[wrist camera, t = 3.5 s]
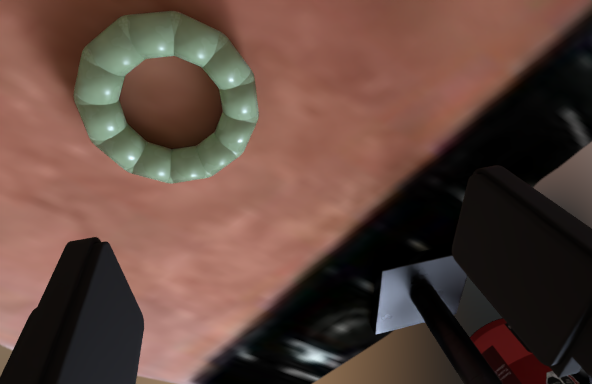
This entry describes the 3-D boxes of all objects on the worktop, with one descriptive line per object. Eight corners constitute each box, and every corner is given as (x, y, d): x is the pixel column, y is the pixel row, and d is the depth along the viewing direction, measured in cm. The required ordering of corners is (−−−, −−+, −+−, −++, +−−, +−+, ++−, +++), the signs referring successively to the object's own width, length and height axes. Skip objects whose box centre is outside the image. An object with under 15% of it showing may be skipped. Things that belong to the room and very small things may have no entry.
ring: (115, 182, 22) (109, 200, 21) (50, 19, 17) (35, 25, 15) (262, 158, 24) (267, 173, 22) (243, 2, 19) (248, 6, 17)
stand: (370, 324, 37) (443, 476, 26) (376, 261, 32) (469, 416, 21) (449, 305, 38) (549, 441, 28) (467, 241, 33) (598, 377, 23)
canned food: (527, 332, 46) (608, 423, 37) (472, 364, 47) (537, 460, 38) (514, 305, 42) (603, 401, 33) (454, 341, 43) (524, 443, 34)
